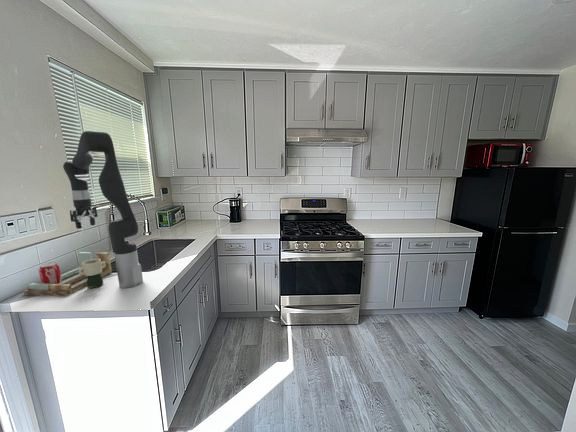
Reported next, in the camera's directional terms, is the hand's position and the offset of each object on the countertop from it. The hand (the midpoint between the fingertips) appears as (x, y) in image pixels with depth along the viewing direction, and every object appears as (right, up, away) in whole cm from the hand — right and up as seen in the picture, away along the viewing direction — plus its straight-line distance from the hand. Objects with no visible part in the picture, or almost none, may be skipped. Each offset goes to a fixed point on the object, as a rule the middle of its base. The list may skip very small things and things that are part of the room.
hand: (86, 226), depth 133 cm
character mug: (+19, -29, -16) cm, 38 cm away
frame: (+4, -28, -14) cm, 32 cm away
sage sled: (-1, -28, -11) cm, 30 cm away
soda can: (-1, -29, -17) cm, 34 cm away
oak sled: (+10, -28, -12) cm, 32 cm away
